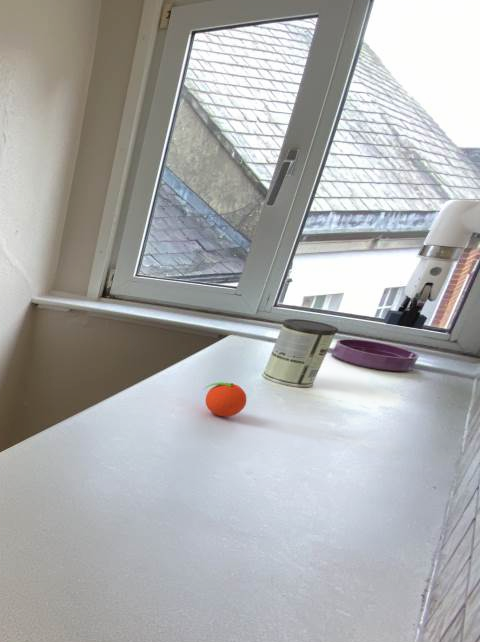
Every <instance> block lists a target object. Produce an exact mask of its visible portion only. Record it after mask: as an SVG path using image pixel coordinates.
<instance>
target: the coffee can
mask: <svg viewBox="0 0 480 642" xmlns="http://www.w3.org/2000/svg"><path fill="white" fill-rule="evenodd" d="M338 330H339V328H337V327H336V326H334V325H332V324H328V323H325V322H320V321H315V320H309V319H299V318H288V319H284V320H283V323H282V326H281V329H280V332H279V333H278V336H277V338H276V341H275V342H274V343H275V344H274V346H273V348H272V351H271V353H270V356H269V358H268V361H267V363H266V366H265V368H264V371H263V372H262V377H263V378H264V379H266V380H268V381H271V382H273V383H277V384H280V385H283V386H284V385H285V386H288V387H289V386H290V387H296V388H311V387H312V386H313V385H314V382H315V380H316V377H317V375H318V373H319V371H320V369H321V367H322V364H323V362H324V360H325V357H326V355H327V354H328V351H329V349H330V346H331V344H332V343H333V340H334V338H335V335H336V334H337V333H338Z"/></svg>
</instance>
